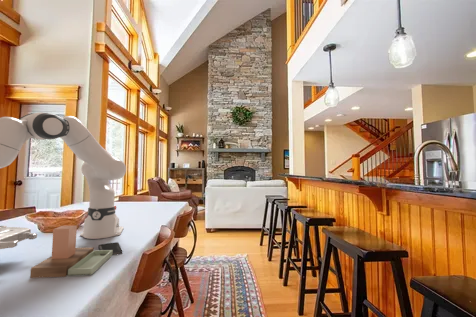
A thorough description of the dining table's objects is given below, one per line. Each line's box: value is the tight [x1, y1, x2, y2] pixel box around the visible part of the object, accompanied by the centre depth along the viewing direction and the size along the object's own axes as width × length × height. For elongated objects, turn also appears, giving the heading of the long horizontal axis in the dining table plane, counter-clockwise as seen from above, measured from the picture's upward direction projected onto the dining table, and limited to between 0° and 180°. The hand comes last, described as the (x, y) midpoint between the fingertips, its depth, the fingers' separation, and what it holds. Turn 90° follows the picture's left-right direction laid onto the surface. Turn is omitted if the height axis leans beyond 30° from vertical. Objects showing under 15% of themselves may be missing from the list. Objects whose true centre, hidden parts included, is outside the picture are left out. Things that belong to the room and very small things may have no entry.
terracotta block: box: [51, 225, 78, 259], centre depth 84 cm, size 5×5×10 cm
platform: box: [29, 247, 94, 279], centre depth 84 cm, size 19×10×3 cm, turn 8°
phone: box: [97, 241, 123, 256], centre depth 100 cm, size 8×1×15 cm
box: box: [67, 249, 113, 277], centre depth 85 cm, size 18×7×2 cm, turn 8°
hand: (26, 240), depth 83 cm, fingers open, 8 cm apart
